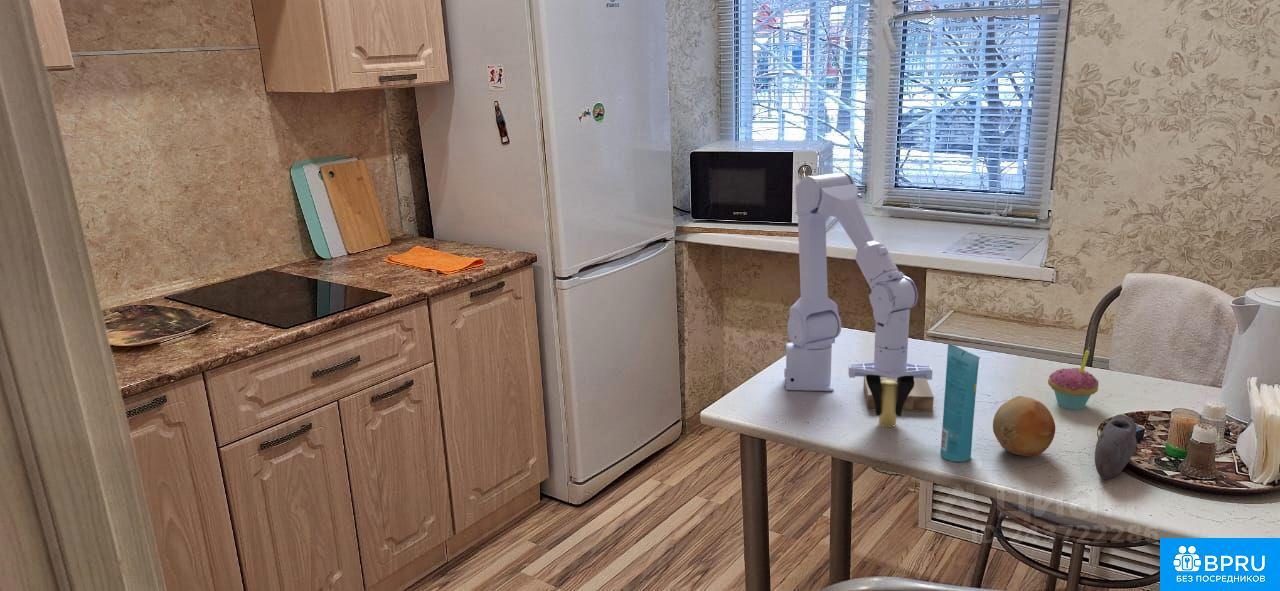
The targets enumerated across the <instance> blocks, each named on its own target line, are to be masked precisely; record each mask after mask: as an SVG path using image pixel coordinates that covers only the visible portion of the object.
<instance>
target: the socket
mask: <svg viewBox="0 0 1280 591" xmlns="http://www.w3.org/2000/svg"><path fill="white" fill-rule="evenodd" d="M880 379H881V382H882V381H885V380H891V381H895V382H897V379H892V378H886V377H880ZM862 389H863V394H864V398H865V403H867V404H866V408H867V410H870V409H875V403H874V399H873V396H872V393H871V391H870V388H869V386H868V384H867V380H866V377H863V388H862ZM934 398H935V397H934V395H933V391H932V389H931V387H930V384H929V382H928V380H927V379H925V378H914V387H913V389H912V390H911V392H910V393H909V395H908V397H907V398H906V400H905V403H904V405H903V408H902V411H903V410H915V411H914V412H933V411H934V401H935V400H934ZM916 410H917V411H916ZM918 410H919V411H918Z"/></svg>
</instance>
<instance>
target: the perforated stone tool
mask: <svg viewBox="0 0 1280 591" xmlns="http://www.w3.org/2000/svg"><path fill="white" fill-rule="evenodd" d="M1137 430H1138V429H1137V424H1136V422H1135V419H1133V418H1132V417H1130V416H1127V415H1124V414H1116V415H1115V416H1113V418H1112V417H1111V418H1110V419H1109V421H1108V422H1107V423H1106V425H1105V426H1104V427H1103V428H1102V431H1101V432H1100V434H1099V436H1098V439H1097V441H1096V443H1095V451H1094V466H1095V470H1096V472H1097V473H1098V475H1099V477H1100V478H1101V479H1104V480H1106V479H1111V478H1114V477H1116V476H1117V475H1119V474H1120V473H1121V472H1122V471H1123V469H1124V468H1126V467H1127V465H1128V463H1129V462H1130V460H1131V458H1132V456H1133V454H1134V452H1135V450H1136V448H1137V447H1138V446H1137V445H1138V440H1137V437H1136V435H1137Z"/></svg>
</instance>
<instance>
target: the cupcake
mask: <svg viewBox="0 0 1280 591" xmlns="http://www.w3.org/2000/svg"><path fill="white" fill-rule="evenodd" d="M1090 349H1091V347H1090V346H1088V349H1087V350H1085V352H1084V355H1083V359H1082V362H1081V365H1080V368H1079V367H1072V368H1070V367H1068V368H1060V369H1058V370H1055V371H1054V372H1052V373H1051V374H1050V375H1049V377H1048V379H1047V384H1048V385H1049V386H1050V388H1051V389H1052V390H1053V391H1054V394H1055V400H1056V404H1057V405H1058V406H1059V407H1061V408H1064V409H1067V410H1073V411H1074V410H1077V411H1079V410H1081V409H1082V410H1083V409H1084V408H1085V407H1086V405H1087V403H1088V402H1089V399H1090V398H1091V396H1092V395H1094V394H1096V393H1097V392H1098V389H1099V380H1097V378H1096V377H1095V376H1094V375H1093V374H1091V373H1090V372H1089V371H1086V370H1085V367H1086V364H1087V361H1088V357H1089V355H1090Z"/></svg>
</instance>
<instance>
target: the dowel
mask: <svg viewBox="0 0 1280 591" xmlns="http://www.w3.org/2000/svg"><path fill="white" fill-rule="evenodd" d="M881 385H882V386H881V396H880V410H881V412H880V415H878V424H879V423H880V424H881V425H880V424H879V425H880V426H882V425H884V426H883V427H885V426H893V425H895V424H897V415H896V409H897V391H898V383H897V382H895V381H891V380H885V381H882V382H881ZM895 426H896V425H895ZM893 427H894V426H893Z"/></svg>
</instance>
